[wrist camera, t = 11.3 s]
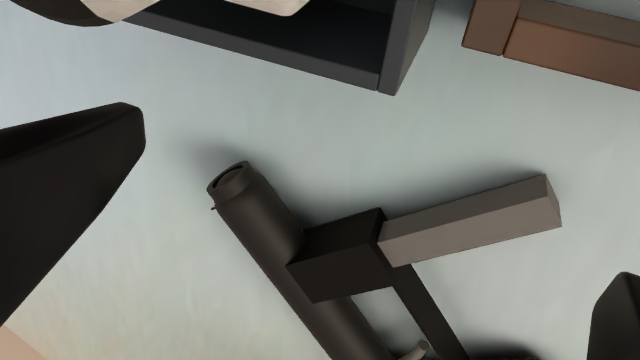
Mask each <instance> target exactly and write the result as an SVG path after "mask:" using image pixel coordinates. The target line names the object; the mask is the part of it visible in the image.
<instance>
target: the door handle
mask: <svg viewBox="0 0 640 360" xmlns="http://www.w3.org/2000/svg"><path fill="white" fill-rule="evenodd" d="M207 192H208V193H209V195H210V196H211V197H212V199H213V200H214V204H215V205H214V206H215V207H213V208H211V210H214V209H216V210H217V212H218V213H219V215H220V216H221V217H222V219H223V220H224V221H225V223H226V224H227V225H228V226H229V228H230V229H231V230H232V232H233V233H234V234H235V235H236V237H237V238H238V239H239V241H240V242H241V243H242V245H243V246H244V247H245V248H246V250H247V251H248V252H249V254H250V255H251V256H252V257H253V259H254V260H255V261H256V263H257V264H258V265H259V266H260V268H261V269H262V270H263V272H264V273H265V274H266V275H267V277H268V278H269V279H270V281H271V282H272V283H273V284H274V286H275V287H276V288H277V290H278V291H279V292H280V293H281V295H282V296H283V297H284V299H285V300H286V301H287V302H288V304H289V305H290V306H291V308H292V309H293V310H294V311H295V313H296V314H297V315H298V317H299V318H300V319H301V321H302V322H303V323H304V324H305V326H306V327H307V328H308V330H309V331H310V332H311V333H312V335H313V336H314V337H315V339H316V340H317V341H318V342H319V344H320V345H321V346H322V348H323V349H324V350H325V351H326V353H327V354H328V355H329V357H330V358H331V359H332V360H394V358H393V357H392V356H391V354H390V353H389V351H388V350H387V349H386V347H385V346H384V344H383V343H382V342H381V340H380V339H379V337H378V336H377V334H376V333H375V332H374V330H373V329H372V327H371V326H370V325H369V323H368V322H367V320H366V319H365V318H364V316H363V315H362V313H361V312H360V311H359V309H358V308H357V306H356V305H355V303H354V302H353V301H352V299H351V298H350V295H355V294H359V293H364V292H368V291H373V290H377V289H382V288H386V287H391V286H393V288H394V289H395V291H396V292H397V294H398V295H399V297H400V298H401V300H402V302H403V303H404V305H405V306H406V308H407V309H408V311H409V312H410V314H411V315H412V317H413V318H414V320H415V321H416V323H417V324H418V326H419V327H420V329H421V330H422V332H423V333H424V335H425V336H426V338H427V339H428V341H429V342H430V344H431V345H432V347H433V349H434V350H435V352H436V353H437V355H438V356H439V358H440V359H441V360H471V359H470V358H469V356H468V355H467V353H466V351H465V350H464V348H463V347H462V345H461V343H460V342H459V340H458V339H457V337H456V335H455V334H454V332H453V331H452V329H451V327H450V326H449V324H448V323H447V321H446V320H445V318H444V316H443V315H442V313H441V312H440V310H439V308H438V307H437V305H436V304H435V302H434V300H433V299H432V297H431V296H430V294H429V292H428V291H427V289H426V288H425V286H424V284H423V283H422V281H421V280H420V278H419V277H418V275H417V273H416V272H415V270H414V269H413V267H412V265H411V263H415V262H419V261H423V260H427V259H432V258H436V257H440V256H444V255H448V254H452V253H456V252H460V251H464V250H469V249H473V248H477V247H481V246H485V245H489V244H493V243H497V242H502V241H506V240H510V239H514V238H518V237H522V236H526V235H530V234H534V233H539V232H543V231H547V230H551V229H555V228H559V227H562V223H561V215H560V207H559V202H558V200H557V198H556V196H555V194H554V191H553V189H552V187H551V185H550V183H549V180H548V178H547V176H546V174H543V175H540V176H536V177H533V178H530V179H526V180H523V181H520V182H516V183H513V184H510V185H506V186H503V187H499V188H496V189H493V190H489V191H486V192H483V193H479V194H476V195H473V196H469V197H466V198H462V199H459V200H456V201H452V202H449V203H446V204H442V205H439V206H436V207H432V208H429V209H425V210H422V211H419V212H415V213H412V214H409V215H405V216H402V217H399V218H395V219H392V220H388V219H387V217H386V216H385V214H384V213H383V211H382V209H381V208H380V207H378V208H375V209H372V210H369V211H365V212H362V213H359V214H356V215H353V216H350V217H346V218H343V219H340V220H337V221H334V222H331V223H327V224H324V225H321V226H318V227H315V228H312V229H308V230H305V231H303V230H302V229H301V227H300V226H299V225H298V223H297V222H296V220H295V219H294V217H293V216H292V215H291V213H290V212H289V210H288V209H287V208H286V206H285V205H284V203H283V202H282V201H281V199H280V198H279V196H278V195H277V194H276V192H275V191H274V189H273V188H272V186H271V185H270V184H269V182H268V181H267V179H266V178H265V177H264V176H263V175H261V174H260V173H258V172H257V171H254V169H253V168H252V167H251V165H250V164H249V162H248V161H242V162H239V163H237V164H235V165H233V166H231V167H229V168H228V169H226V170H225V171H223V172H222V173H221V174H219V175H218V176H217V177H216V178H215V179H214V180H213V181H212V182H211V183H210V184H209V186H208V187H207ZM428 349H429V344H428V343H427V342H426V341H424V340H420V341H419V342H418V343H417V345H416V346H415V347H414V348H413V349H412V350H411V351H410V352H409V353H408V354H406V355H405V356H403V357H401V358H399V359H397V360H419V359H420V358H421V357H422V356H423V355H424V354H425V353H426V352H427V351H428ZM498 360H540V359H538V358H536V357H532V356H522V357H514V358H506V359H498Z"/></svg>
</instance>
